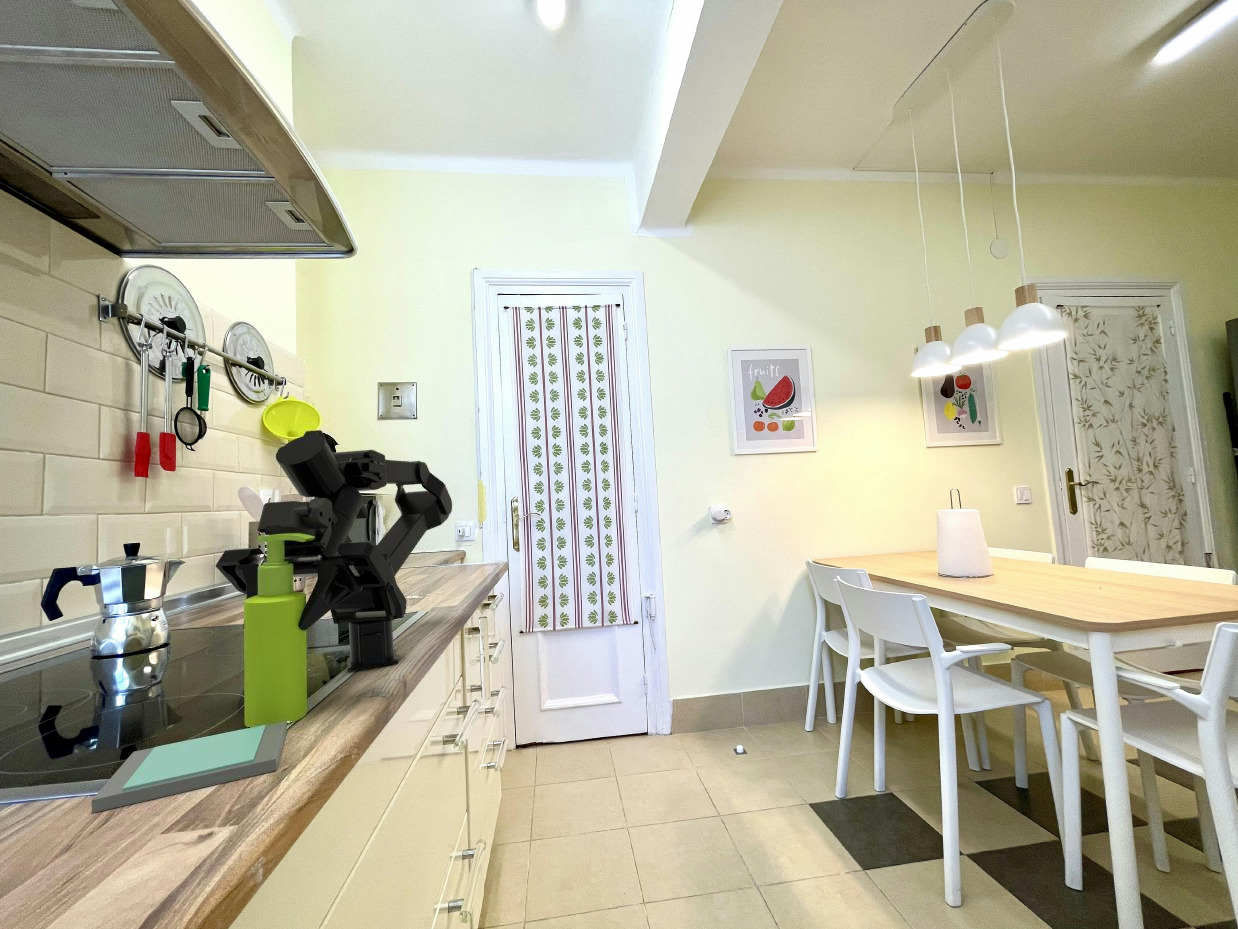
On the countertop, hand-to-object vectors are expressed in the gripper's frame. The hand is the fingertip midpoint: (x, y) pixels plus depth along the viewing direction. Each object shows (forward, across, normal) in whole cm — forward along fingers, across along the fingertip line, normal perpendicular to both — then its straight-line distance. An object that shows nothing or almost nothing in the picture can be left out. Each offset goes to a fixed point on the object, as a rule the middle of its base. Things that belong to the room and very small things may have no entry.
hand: (273, 629), depth 64 cm
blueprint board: (+14, 0, 0) cm, 14 cm away
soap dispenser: (+7, 0, +7) cm, 10 cm away
